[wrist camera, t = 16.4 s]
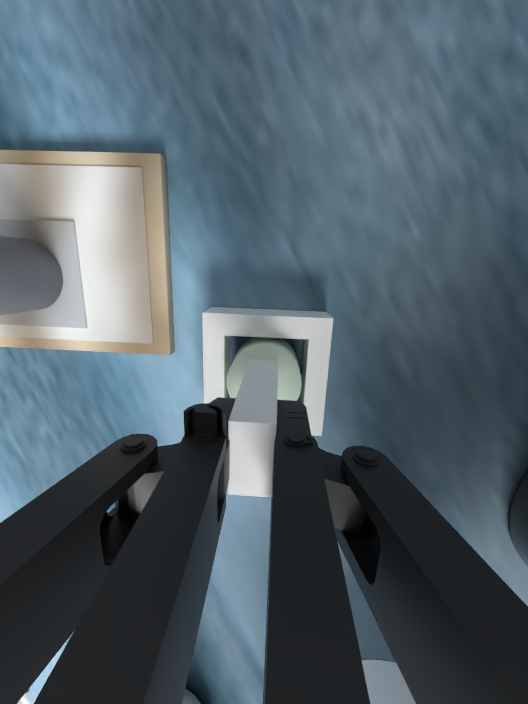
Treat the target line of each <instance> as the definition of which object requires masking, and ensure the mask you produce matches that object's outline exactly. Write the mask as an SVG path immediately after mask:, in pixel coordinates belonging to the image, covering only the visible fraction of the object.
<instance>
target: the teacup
mask: <svg viewBox="0 0 528 704" xmlns="http://www.w3.org/2000/svg"><path fill="white" fill-rule="evenodd" d="M182 704H201V703H200V701H199V700H198V699H197V698H196V696H195V695H194V694H193V693H191V692H190V691H189V690H187V689H185V692H184V696H183V701H182Z"/></svg>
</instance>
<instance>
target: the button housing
mask: <svg viewBox="0 0 528 704" xmlns="http://www.w3.org/2000/svg"><path fill="white" fill-rule="evenodd" d="M202 324H203V379H204V403H210V402H211V401H213V400H214V399H216V398H217V397H222V398H230V396H229V393H228V390H227V374H228V371H229V368H230V366H231V336H246V337H267V338H288V339H305V341H304V354H303V368H302V387H301V394H300V399H298V400H297V401H301V402H302V403H303V404H304V405H305V406H306V409H307V414H308V419H309V425H310V430H311V435H312V436H322V429H323V419H324V409H325V399H326V389H327V379H328V368H329V358H330V348H331V338H332V328H333V318H332V317H331V316H330V315H329V314H328V313H327V312H319V311H296V310H274V309H251V308H228V307H211V308H209V309H208V310H206V311H204V312H202Z"/></svg>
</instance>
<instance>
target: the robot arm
mask: <svg viewBox="0 0 528 704" xmlns="http://www.w3.org/2000/svg"><path fill="white" fill-rule="evenodd" d="M277 386H278V360H258V359H249V361H248V364H247V367H246V370H245V373H244V376H243V379H242V382H241V385H240V388H239V391H238V394H237V397H236V398H222V397H217V398H216V399H214V400H213V401H211V402H210V403H203V404H197V405H193V406H191V407H188V408H187V409H186V410H185V411H184V431H185V435H184V437H183V439H182V441H181V442H180V443H178V444H173V445H167V446H159V447H157V440H156V439H155V438H154V437H153V436H151V435H148V434H132V435H129V436H126V437H123V438H121V439H119V440H117V441H115V442H114V443H112V444H111V445H110V446H108V447H107V448H105V449H104V450H103V451H101V452H100V453H98V454H97V455H96V456H94V457H93V458H91V459H90V460H88V461H87V462H86V463H84V464H83V465H81V466H80V467H79V468H77V469H76V470H74V471H73V472H72V473H70V474H69V475H67V476H66V477H65V478H63V479H62V480H60V481H59V482H58V483H56V484H55V485H53V486H52V487H50V488H49V489H48V490H46V491H45V492H43V493H42V494H41V495H39V496H38V497H36V498H35V499H34V500H32V501H31V502H29V503H28V504H27V505H25V506H24V507H22V508H21V509H19V510H18V511H17V512H15V513H14V514H12V515H11V516H10V517H8V518H7V519H5V520H4V521H3V522H1V523H0V704H17V703H18V702H19V700H20V699H21V698H22V697H23V695H24V694H25V693H26V691H27V690H28V689H29V688H30V686H31V685H32V684H33V683H34V681H35V680H36V679H37V677H38V676H39V675H40V674H41V672H42V671H43V670H44V669H45V667H46V666H47V665H48V663H49V662H50V661H51V660H52V658H53V657H54V656H55V654H56V653H57V652H58V651H59V649H60V648H61V647H62V646H63V644H64V643H65V642H66V640H67V639H68V638H69V637H70V635H71V634H72V633H73V632H74V633H73V635H72V636H71V638H70V640H69V642H68V643H67V645H66V647H65V649H64V651H63V652H62V654H61V656H60V658H59V659H58V661H57V663H56V665H55V667H54V668H53V670H52V672H51V674H50V675H49V677H48V679H47V681H46V683H45V684H44V686H43V688H42V690H41V691H40V693H39V695H38V697H37V699H36V700H35V702H34V704H182V701H183V696H184V692H185V687H186V683H187V678H188V674H189V669H190V665H191V660H192V656H193V651H194V647H195V642H196V638H197V633H198V629H199V624H200V620H201V615H202V611H203V606H204V602H205V597H206V593H207V588H208V584H209V580H210V575H211V571H212V566H213V562H214V557H215V553H216V548H217V544H218V539H219V535H220V530H221V526H222V521H223V517H224V512H225V508H226V491H227V486H228V494H229V495H243V496H258V497H272V501H271V520H270V547H269V571H268V595H267V620H266V644H265V668H264V692H263V704H370V699H369V694H368V690H367V685H366V680H365V675H364V670H363V665H362V660H361V655H360V650H359V646H358V641H357V636H356V631H355V626H354V621H353V616H352V611H351V606H350V602H349V597H348V592H347V587H346V582H345V577H344V572H343V567H342V562H341V558H340V553H339V548H338V543H339V545H340V547H341V549H342V551H343V553H344V555H345V557H346V559H347V561H348V563H349V565H350V567H351V570H352V572H353V574H354V576H355V578H356V580H357V582H358V584H359V586H360V588H361V590H362V592H363V595H364V597H365V599H366V601H367V603H368V605H369V607H370V609H371V611H372V613H373V615H374V617H375V619H376V622H377V624H378V626H379V628H380V630H381V632H382V634H383V636H384V638H385V640H386V642H387V644H388V647H389V649H390V651H391V653H392V655H393V657H394V659H395V661H396V663H397V665H398V667H399V669H400V671H401V674H402V676H403V678H404V680H405V682H406V684H407V686H408V688H409V690H410V692H411V694H412V696H413V699H414V701H415V703H416V704H528V607H527V605H526V604H525V603H524V602H523V601H522V600H521V599H520V598H519V597H518V596H517V595H516V594H515V593H514V592H513V591H512V590H511V588H510V587H509V586H508V585H507V584H506V583H505V582H504V581H503V580H502V579H501V578H500V577H499V576H498V575H497V574H496V573H495V572H494V570H493V569H492V568H491V567H490V566H489V565H488V564H487V563H486V562H485V561H484V560H483V559H482V558H481V557H480V556H479V555H478V553H477V552H476V551H475V550H474V549H473V548H472V547H471V546H470V545H469V544H468V543H467V542H466V541H465V540H464V539H463V538H462V536H461V535H460V534H459V533H458V532H457V531H456V530H455V529H454V528H453V527H452V526H451V525H450V524H449V523H448V522H447V521H446V520H445V518H444V517H443V516H442V515H441V514H440V513H439V512H438V511H437V510H436V509H435V508H434V507H433V506H432V505H431V504H430V503H429V501H428V500H427V499H426V498H425V497H424V496H423V495H422V494H421V493H420V492H419V491H418V490H417V489H416V488H415V487H414V486H413V484H412V483H411V482H410V481H409V480H408V479H407V478H406V477H405V476H404V475H403V474H402V473H401V472H400V471H399V470H398V469H397V468H396V466H395V465H394V464H393V463H392V462H391V461H390V460H389V459H388V458H387V457H386V456H385V455H383V454H382V453H381V452H379V451H377V450H375V449H373V448H370V447H366V446H352V447H348V448H347V449H345V450H344V451H343V454H342V456H339V455H335V454H331V453H328V452H326V451H324V450H322V449H320V448H319V447H318V445H317V442H316V440H315V438H314V437H312V436H311V430H310V425H309V419H308V414H307V409H306V406H305V405H304V404H303V403H302V402H301V401H292V400H277ZM114 503H115V507H114V508H113V509H112V510H111V511H110V512H109V513H107V512H106V511H107V510H108V509H109V507H110V506H112V505H113V504H114ZM510 534H511V538H512V541H513V544H514V547H515V549H516V551H517V553H518V554H519V556H520V557H521V559H522V560H523V561H524V563H525V564H526V565H527V566H528V473H527V474H526V476H525V477H524V479H523V480H522V482H521V484H520V485H519V487H518V489H517V492H516V494H515V496H514V499H513V502H512V506H511V511H510ZM337 540H338V543H337ZM74 630H75V631H74Z"/></svg>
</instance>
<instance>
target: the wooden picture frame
mask: <svg viewBox="0 0 528 704" xmlns="http://www.w3.org/2000/svg"><path fill="white" fill-rule="evenodd" d="M0 236H7V237H14V238H22V239H29V240H33V241H35V242H38V243H40V244H41V245H43V246H44V247H46V248H47V249H48V250H49V251H50V252H51V253H52V254H53V255H54V257H55V258H56V260H57V262H58V263H59V266H60V268H61V272H62V277H63V285H62V291H61V293H60V296H59V297H58V299H57V300H56V302H55V303H53V304H52V305H51V306H49V307H47V308H45V309H41V310H34V311H27V312H20V313H13V314H6V315H0V346H2V347H22V348H42V349H61V350H81V351H101V352H120V353H140V354H160V355H171V354H172V353H173V352H174V329H173V307H172V284H171V262H170V239H169V217H168V194H167V172H166V158H165V157H164V156H162V155H161V154H160V153H117V152H74V151H30V150H0Z"/></svg>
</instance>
